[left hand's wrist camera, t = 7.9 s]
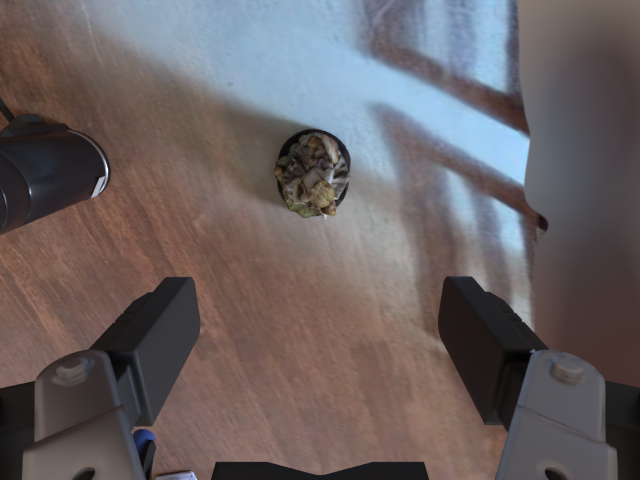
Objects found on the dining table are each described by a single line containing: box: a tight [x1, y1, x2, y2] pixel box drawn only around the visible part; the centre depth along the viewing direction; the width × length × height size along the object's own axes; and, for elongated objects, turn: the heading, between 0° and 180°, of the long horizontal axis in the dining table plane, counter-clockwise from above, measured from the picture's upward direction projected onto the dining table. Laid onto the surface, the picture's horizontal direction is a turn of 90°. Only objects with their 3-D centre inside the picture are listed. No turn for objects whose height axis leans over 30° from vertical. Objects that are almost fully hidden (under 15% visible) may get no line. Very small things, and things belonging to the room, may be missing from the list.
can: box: [133, 429, 155, 456], centre depth 58 cm, size 4×4×4 cm
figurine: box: [274, 129, 350, 220], centre depth 41 cm, size 12×11×15 cm
